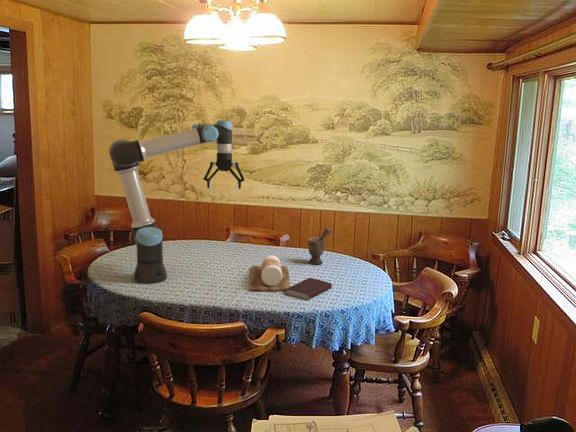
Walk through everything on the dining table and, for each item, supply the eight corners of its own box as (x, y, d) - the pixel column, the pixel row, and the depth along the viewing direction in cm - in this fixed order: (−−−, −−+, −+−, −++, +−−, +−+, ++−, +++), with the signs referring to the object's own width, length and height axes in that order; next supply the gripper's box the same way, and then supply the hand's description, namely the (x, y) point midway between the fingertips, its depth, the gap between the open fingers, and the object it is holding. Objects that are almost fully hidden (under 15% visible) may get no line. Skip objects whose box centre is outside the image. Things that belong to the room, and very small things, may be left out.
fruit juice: (258, 271, 237) (258, 254, 265) (265, 289, 239) (265, 271, 266) (277, 263, 237) (276, 247, 264) (285, 282, 239) (283, 264, 266)
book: (332, 289, 242) (332, 282, 242) (309, 301, 227) (309, 293, 226) (308, 284, 249) (308, 277, 249) (285, 295, 234) (285, 287, 233)
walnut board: (250, 291, 235) (250, 288, 235) (251, 267, 271) (251, 265, 270) (290, 291, 236) (291, 289, 236) (287, 268, 272) (287, 265, 271)
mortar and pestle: (330, 262, 285) (331, 225, 281) (328, 266, 276) (330, 229, 272) (308, 260, 286) (310, 224, 283) (306, 265, 278) (307, 227, 274)
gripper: (197, 152, 259) (198, 195, 263) (249, 153, 260) (248, 196, 264) (199, 151, 266) (200, 193, 270) (249, 152, 267) (249, 194, 271)
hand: (224, 194), depth 267 cm, fingers open, 13 cm apart
